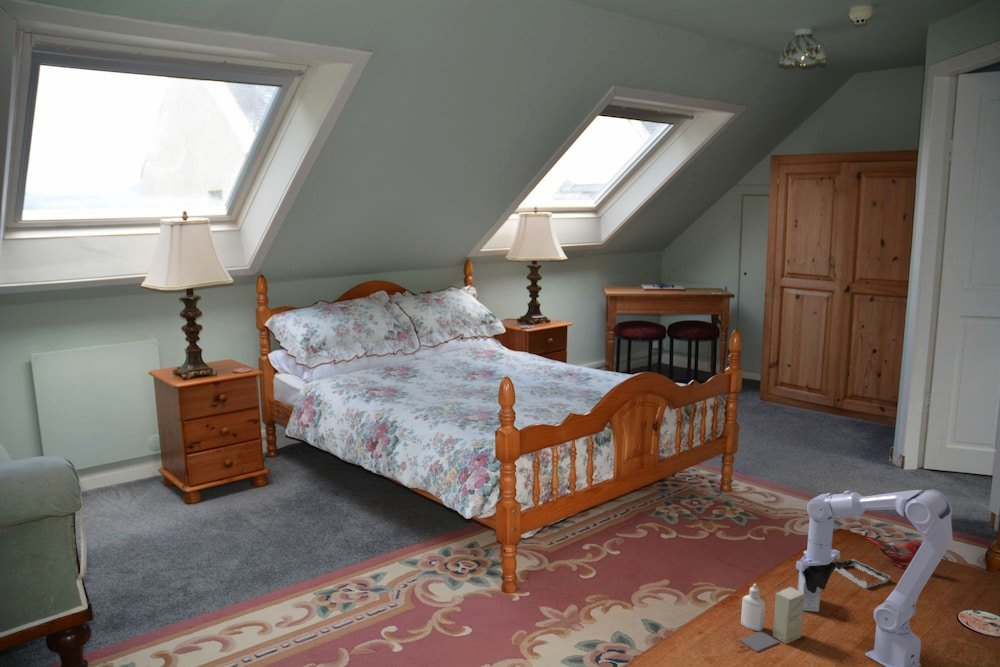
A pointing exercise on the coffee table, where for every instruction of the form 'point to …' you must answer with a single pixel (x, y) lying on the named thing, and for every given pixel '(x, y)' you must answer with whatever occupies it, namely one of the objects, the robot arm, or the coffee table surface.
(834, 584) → the coffee table surface
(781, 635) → the skincare box
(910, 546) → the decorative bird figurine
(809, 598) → the medicine box
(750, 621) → the eye dropper bottle
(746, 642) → the mat
